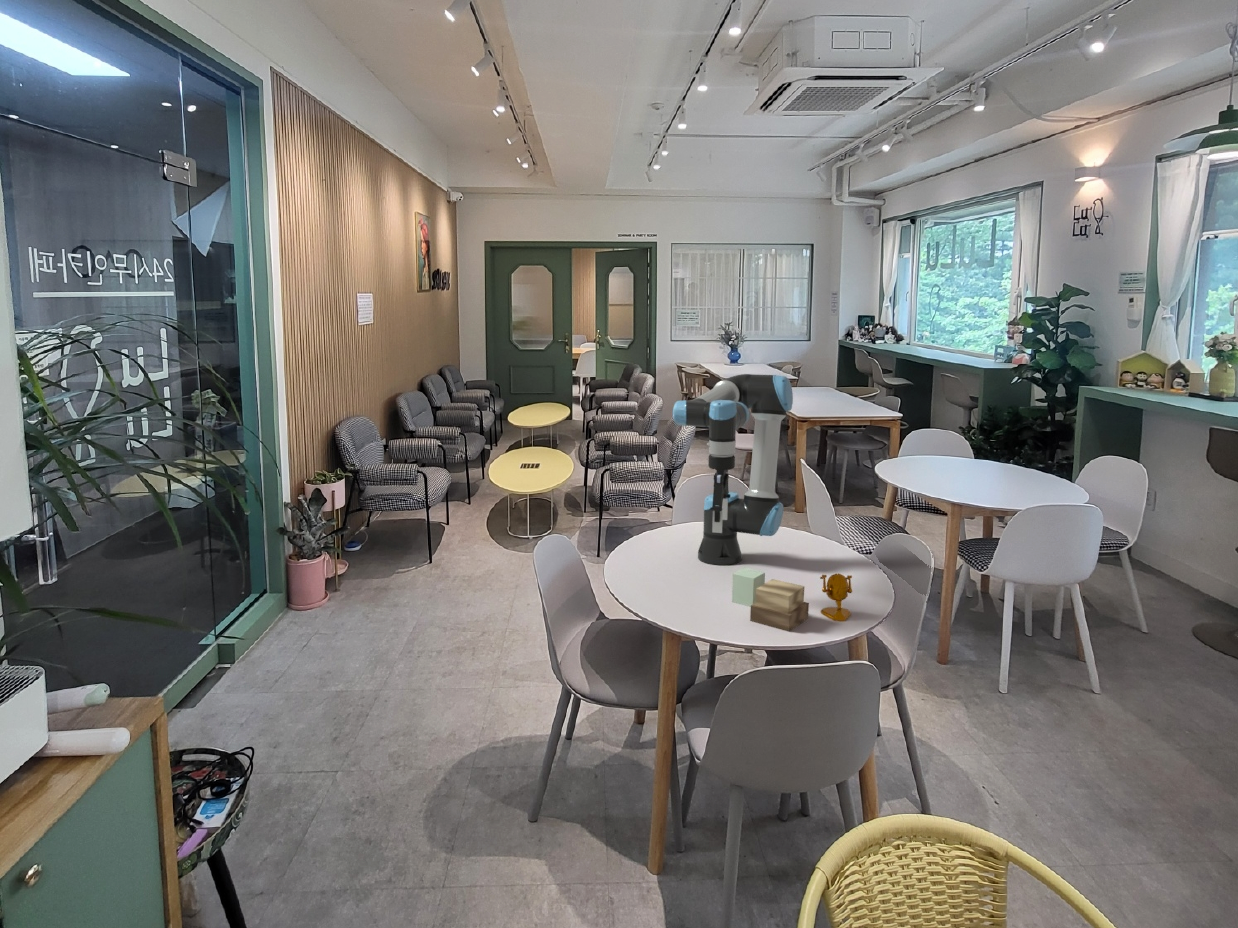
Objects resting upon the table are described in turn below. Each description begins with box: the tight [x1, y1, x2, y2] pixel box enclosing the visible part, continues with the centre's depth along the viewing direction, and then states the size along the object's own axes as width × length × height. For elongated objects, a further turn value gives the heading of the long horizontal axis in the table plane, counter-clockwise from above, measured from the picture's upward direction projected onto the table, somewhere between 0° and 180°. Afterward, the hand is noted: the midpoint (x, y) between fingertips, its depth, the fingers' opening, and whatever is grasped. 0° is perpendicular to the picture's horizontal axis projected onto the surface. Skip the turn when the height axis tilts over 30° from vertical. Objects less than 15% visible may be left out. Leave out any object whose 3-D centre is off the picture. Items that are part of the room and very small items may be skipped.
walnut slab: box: [749, 601, 810, 633], centre depth 231 cm, size 12×12×5 cm
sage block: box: [731, 567, 766, 608], centre depth 244 cm, size 7×7×9 cm
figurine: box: [819, 573, 853, 622], centre depth 234 cm, size 8×11×12 cm
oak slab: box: [756, 578, 805, 614], centre depth 230 cm, size 10×10×5 cm
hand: (719, 525), depth 238 cm, fingers open, 13 cm apart
